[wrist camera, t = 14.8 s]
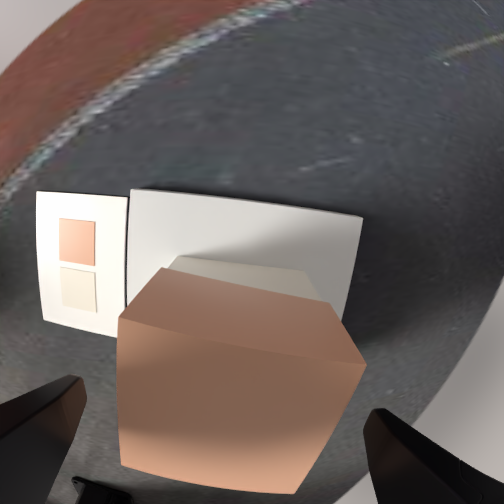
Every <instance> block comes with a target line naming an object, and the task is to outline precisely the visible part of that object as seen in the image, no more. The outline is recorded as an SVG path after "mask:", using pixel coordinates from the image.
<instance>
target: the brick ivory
mask: <svg viewBox="0 0 504 504" xmlns="http://www.w3.org/2000/svg"><path fill="white" fill-rule="evenodd" d="M167 269H172V270H176V271H180V272H185V273H189V274H193V275H198V276H202V277H207V278H211V279H216V280H220V281H225V282H230V283H234V284H239V285H243V286H248V287H253V288H258V289H262V290H267V291H272V292H277V293H282V294H287V295H292V296H297V297H302V298H307V299H312V300H317V301H321V299H320V297H319V295H318V294H317V292H316V290H315V288H314V287H313V285H312V283H311V281H310V280H309V278H308V276H307V275H306V273H305V271H302V270H293V269H284V268H275V267H267V266H258V265H249V264H241V263H232V262H224V261H216V260H207V259H199V258H191V257H183V256H177V257H176V258H175V260H174V261H173V262H172V263H171V264H170V266H169V267H168V268H167Z"/></svg>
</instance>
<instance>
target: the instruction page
mask: <svg viewBox="0 0 504 504" xmlns="http://www.w3.org/2000/svg"><path fill="white" fill-rule="evenodd" d="M127 205H128V197H116V196H104V195H90V194H76V193H60V192H43V191H37V201H36V239H37V261H38V275H39V286H40V295H41V304H42V311H43V318H44V320H47V321H50V322H54V323H58V324H62V325H65V326H69V327H73V328H77V329H81V330H86V331H90V332H94V333H98V334H103V335H107V336H112V337H117V330H118V316H119V315H120V314H121V313H122V312H123V311H124V309H125V244H126V221H127Z"/></svg>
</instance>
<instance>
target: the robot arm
mask: <svg viewBox="0 0 504 504" xmlns="http://www.w3.org/2000/svg"><path fill="white" fill-rule="evenodd" d="M86 402H87V395H86V390H85V385H84V381H83V378H82V377H81V376H78V375H74V374H68V375H66V376H64V377H62V378H59V379H57V380H55V381H53V382H50V383H48V384H46V385H44V386H41V387H39V388H37V389H35V390H32V391H30V392H28V393H26V394H23V395H21V396H19V397H16V398H14V399H12V400H9V401H7V402H5V403H2V404H0V504H45V502H46V500H47V498H48V495H49V493H50V490H51V488H52V486H53V483H54V481H55V479H56V477H57V474H58V472H59V470H60V468H61V466H62V463H63V461H64V459H65V457H66V455H67V452H68V450H69V448H70V446H71V444H72V442H73V439H74V437H75V434H76V431H77V428H78V425H79V422H80V419H81V416H82V413H83V411H84V408H85V405H86ZM363 435H364V441H365V447H366V453H367V460H368V466H369V471H370V475H371V479H372V483H373V486H374V490H375V494H376V497H377V501H378V504H504V483H502V482H500V481H498V480H496V479H494V478H491V477H489V476H488V475H485V474H483V473H482V472H480V471H478V470H476V469H475V468H473V467H471V466H470V465H468V464H467V463H465V462H463V461H462V460H460V459H459V458H457V457H456V456H454V455H453V454H451V453H450V452H448V451H447V450H445V449H444V448H442V447H440V446H439V445H437V444H436V443H434V442H433V441H431V440H430V439H429V438H427V437H426V436H424V435H423V434H421V433H420V432H418V431H417V430H415V429H414V428H412V427H411V426H410V425H408V424H407V423H405V422H404V421H402V420H401V419H400V418H398V417H397V416H395V415H394V414H392V413H391V412H390V411H388V410H387V409H385V408H377V409H373V410H372V411H371V413H370V415H369V417H368V419H367V421H366V423H365V425H364V429H363ZM71 481H72V483H73V485H74V487H75V489H76V491H77V492H78V494H79V496H78V498H77V500H76V503H75V504H134V502H133V499H132V496H130V495H129V494H126V493H122V492H119V491H115V490H112V489H109V488H105V487H102V486H99V485H96V484H93V483H90V482H87V481H84V480H81V479H79V478H76V477H72V480H71Z"/></svg>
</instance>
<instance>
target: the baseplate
mask: <svg viewBox="0 0 504 504" xmlns="http://www.w3.org/2000/svg"><path fill="white" fill-rule="evenodd" d="M362 222H363V218H361V217H359V216H356V215H350V214H344V213H338V212H331V211H325V210H319V209H312V208H305V207H299V206H292V205H284V204H277V203H270V202H262V201H254V200H247V199H238V198H230V197H221V196H213V195H203V194H194V193H184V192H174V191H163V190H152V189H140V188H137V189H131V193H130V207H129V223H128V247H127V306H128V305H129V303H130V302H131V301H132V300H133V299H134V298H135V296H136V295H137V294H138V293H139V292H140V291H141V290H142V288H143V287H144V286H145V285H146V284H147V283H148V282H149V280H150V279H151V278H152V277H153V276H154V275H155V274H156V272H157V271H158V270H159V269H160V268H161V267H163V268H168V267H169V266H170V264H171V263H172V262H173V261H174V260H175V258H176V257H177V256H183V257H191V258H199V259H207V260H216V261H224V262H232V263H241V264H249V265H258V266H267V267H275V268H284V269H293V270H302V271H305V273H306V275H307V276H308V278H309V280H310V281H311V283H312V285H313V287H314V288H315V290H316V292H317V294H318V295H319V297H320V299H321V301H323V302H328V303H330V304H331V306H332V308H333V309H334V311H335V313H336V314H337V316H338V317H339V319H340V321H341V320H342V316H343V312H344V308H345V304H346V299H347V295H348V291H349V287H350V282H351V278H352V273H353V268H354V264H355V259H356V254H357V249H358V244H359V239H360V233H361V228H362Z"/></svg>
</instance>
